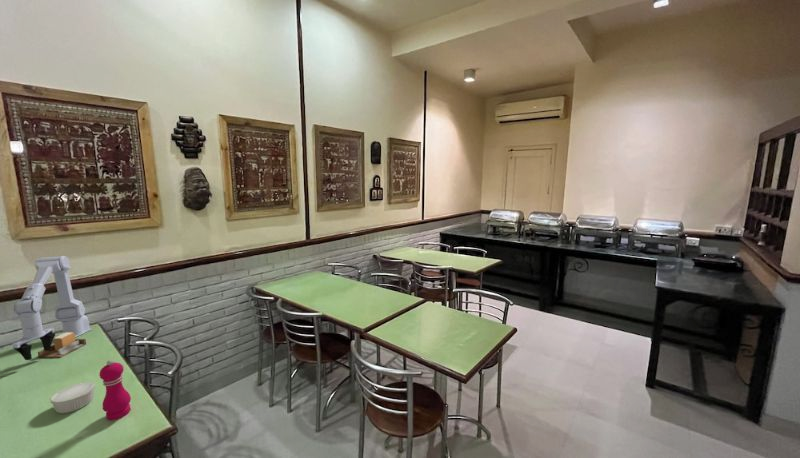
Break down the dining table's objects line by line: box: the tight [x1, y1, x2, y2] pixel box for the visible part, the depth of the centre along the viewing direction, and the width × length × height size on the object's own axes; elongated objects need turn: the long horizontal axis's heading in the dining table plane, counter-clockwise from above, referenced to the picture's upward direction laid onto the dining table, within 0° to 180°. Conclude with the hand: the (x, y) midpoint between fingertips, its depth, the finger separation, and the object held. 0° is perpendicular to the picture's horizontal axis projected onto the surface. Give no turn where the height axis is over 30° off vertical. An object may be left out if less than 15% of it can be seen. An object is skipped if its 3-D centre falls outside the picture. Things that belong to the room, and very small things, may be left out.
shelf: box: [37, 338, 87, 359], centre depth 151 cm, size 12×10×3 cm
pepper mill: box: [99, 359, 132, 421], centre depth 108 cm, size 7×7×20 cm
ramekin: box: [49, 381, 96, 414], centre depth 114 cm, size 11×11×5 cm
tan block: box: [52, 332, 77, 351], centre depth 153 cm, size 6×4×6 cm
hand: (38, 354), depth 141 cm, fingers open, 7 cm apart
